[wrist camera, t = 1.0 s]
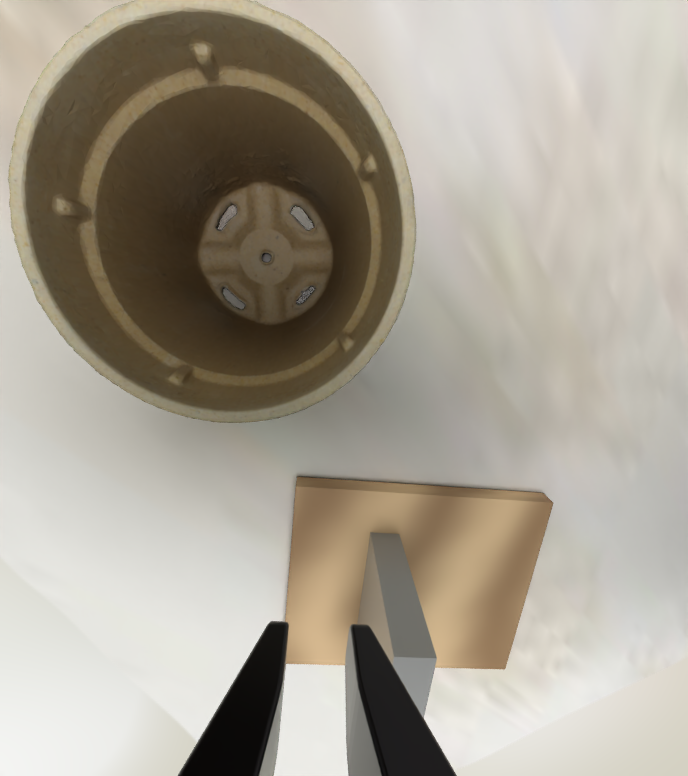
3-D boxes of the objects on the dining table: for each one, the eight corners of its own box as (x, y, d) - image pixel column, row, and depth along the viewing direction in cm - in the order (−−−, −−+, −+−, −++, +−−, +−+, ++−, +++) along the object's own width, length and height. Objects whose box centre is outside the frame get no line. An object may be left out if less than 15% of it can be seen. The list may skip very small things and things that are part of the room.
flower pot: (403, 193, 17) (482, 105, 8) (332, 384, 19) (339, 465, 11) (193, 103, 15) (40, -108, 7) (144, 321, 18) (-16, 357, 9)
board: (542, 492, 21) (553, 502, 20) (497, 654, 25) (505, 669, 24) (297, 476, 20) (295, 486, 19) (283, 647, 23) (281, 663, 22)
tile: (400, 533, 20) (438, 658, 14) (383, 634, 22) (409, 787, 16) (370, 532, 20) (393, 656, 14) (355, 633, 22) (370, 786, 15)
